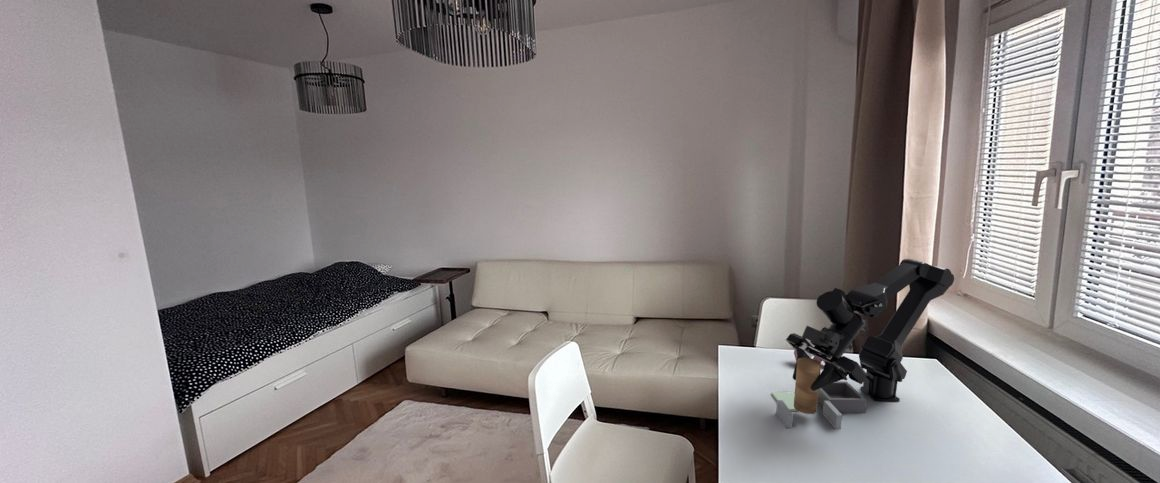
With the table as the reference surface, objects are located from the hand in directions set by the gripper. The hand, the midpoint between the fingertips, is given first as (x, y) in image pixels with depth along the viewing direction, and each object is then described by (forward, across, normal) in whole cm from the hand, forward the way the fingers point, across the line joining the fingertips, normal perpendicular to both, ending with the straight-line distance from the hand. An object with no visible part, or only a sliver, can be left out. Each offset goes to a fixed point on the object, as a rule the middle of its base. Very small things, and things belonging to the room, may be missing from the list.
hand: (802, 384), depth 104 cm
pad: (+4, -6, +9) cm, 11 cm away
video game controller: (-11, -19, +24) cm, 33 cm away
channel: (+6, +2, +7) cm, 9 cm away
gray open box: (-4, -2, +16) cm, 17 cm away
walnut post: (+4, 0, +6) cm, 7 cm away
